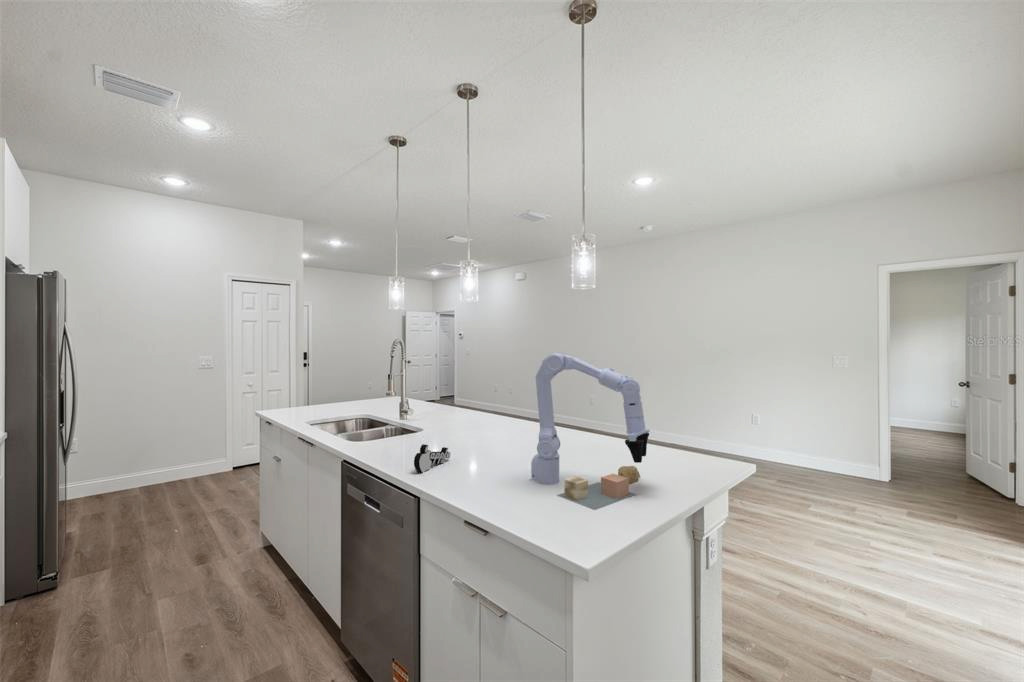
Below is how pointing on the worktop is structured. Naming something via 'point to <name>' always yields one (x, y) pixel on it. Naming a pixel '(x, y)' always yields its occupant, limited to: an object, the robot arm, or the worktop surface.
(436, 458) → the logo
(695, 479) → the worktop surface
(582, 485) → the maple block
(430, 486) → the worktop surface
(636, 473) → the stone tool
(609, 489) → the terracotta brick
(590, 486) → the slate mat
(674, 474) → the worktop surface
